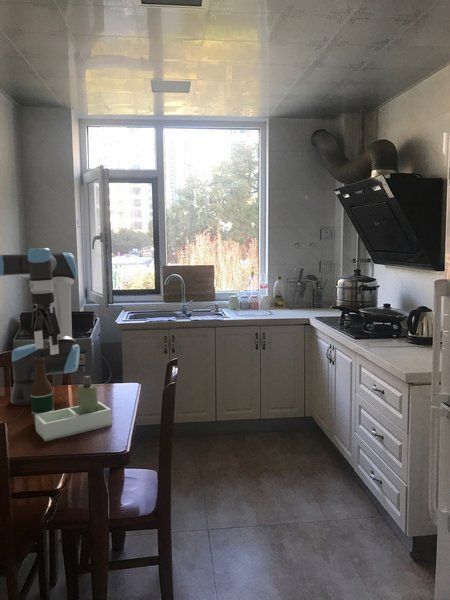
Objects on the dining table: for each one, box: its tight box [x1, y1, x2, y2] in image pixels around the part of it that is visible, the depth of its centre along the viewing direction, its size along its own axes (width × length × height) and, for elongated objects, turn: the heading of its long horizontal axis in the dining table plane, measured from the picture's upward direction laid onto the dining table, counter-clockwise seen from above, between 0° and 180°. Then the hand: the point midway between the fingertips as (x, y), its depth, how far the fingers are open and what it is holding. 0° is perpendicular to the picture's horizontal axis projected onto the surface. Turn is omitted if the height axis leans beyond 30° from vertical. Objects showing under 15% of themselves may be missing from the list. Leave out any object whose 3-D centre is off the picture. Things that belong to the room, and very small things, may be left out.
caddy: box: [34, 401, 113, 442], centre depth 172 cm, size 12×23×6 cm, turn 125°
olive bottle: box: [77, 375, 99, 415], centre depth 175 cm, size 6×6×17 cm
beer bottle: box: [30, 357, 55, 426], centre depth 178 cm, size 8×8×24 cm
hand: (46, 351), depth 176 cm, fingers open, 13 cm apart
